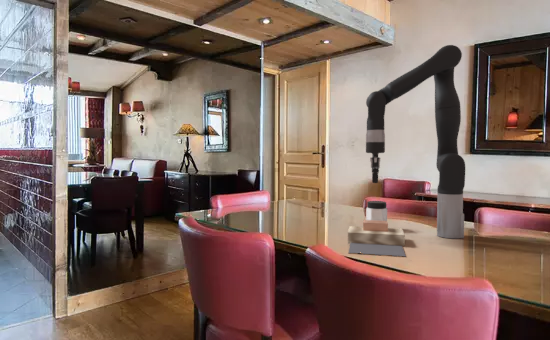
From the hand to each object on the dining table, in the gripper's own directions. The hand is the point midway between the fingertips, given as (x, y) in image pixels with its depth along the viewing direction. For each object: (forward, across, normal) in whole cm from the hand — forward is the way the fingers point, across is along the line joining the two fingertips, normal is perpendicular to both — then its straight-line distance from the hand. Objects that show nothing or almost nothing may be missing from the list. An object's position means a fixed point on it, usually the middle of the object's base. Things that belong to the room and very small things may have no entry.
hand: (375, 182), depth 147 cm
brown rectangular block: (+18, -10, 0) cm, 20 cm away
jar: (+22, +12, -1) cm, 25 cm away
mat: (+22, -26, 0) cm, 33 cm away
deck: (+22, -12, 0) cm, 25 cm away
